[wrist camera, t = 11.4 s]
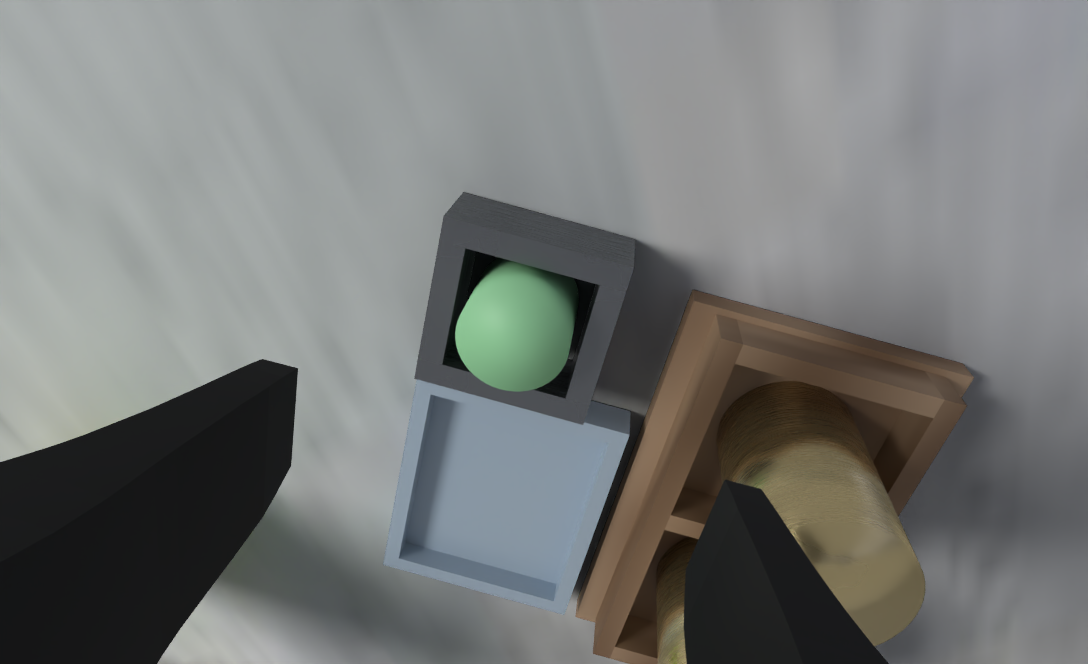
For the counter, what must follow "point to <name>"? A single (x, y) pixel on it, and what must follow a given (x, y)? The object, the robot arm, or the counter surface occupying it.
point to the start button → (517, 326)
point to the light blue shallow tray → (501, 494)
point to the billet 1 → (672, 602)
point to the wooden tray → (691, 450)
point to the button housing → (541, 247)
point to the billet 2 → (826, 498)
